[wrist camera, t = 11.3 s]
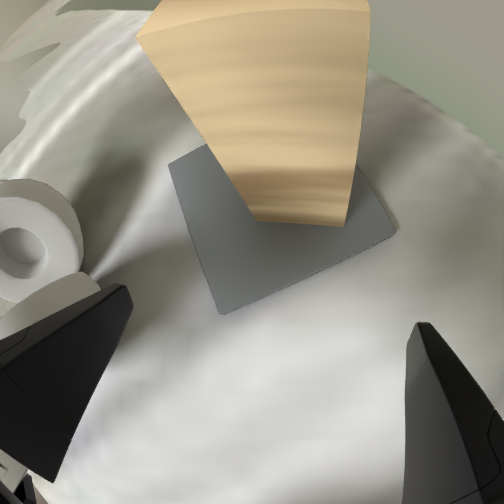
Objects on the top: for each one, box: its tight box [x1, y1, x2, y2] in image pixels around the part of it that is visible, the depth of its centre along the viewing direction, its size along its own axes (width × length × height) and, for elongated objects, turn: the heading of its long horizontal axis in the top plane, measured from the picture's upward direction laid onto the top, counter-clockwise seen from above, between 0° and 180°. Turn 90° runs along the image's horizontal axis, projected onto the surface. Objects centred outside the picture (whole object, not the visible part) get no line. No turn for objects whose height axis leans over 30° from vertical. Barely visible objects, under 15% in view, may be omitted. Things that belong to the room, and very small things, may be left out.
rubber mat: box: [168, 144, 396, 315], centre depth 18 cm, size 11×11×1 cm
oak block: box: [135, 0, 371, 227], centre depth 11 cm, size 5×5×13 cm
